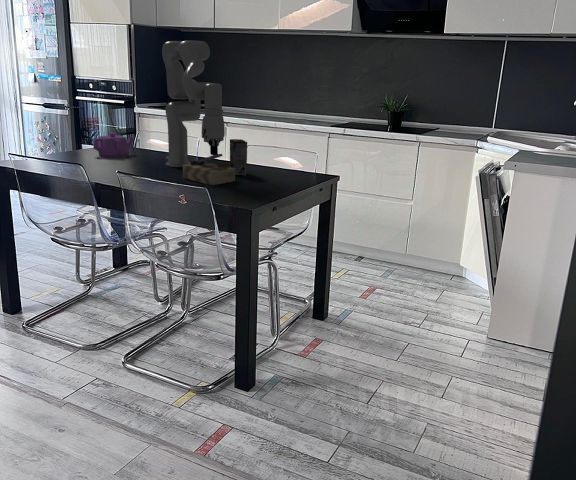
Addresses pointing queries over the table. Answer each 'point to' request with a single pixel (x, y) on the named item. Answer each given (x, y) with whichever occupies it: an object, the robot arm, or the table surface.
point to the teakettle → (112, 146)
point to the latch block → (209, 173)
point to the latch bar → (208, 158)
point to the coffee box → (238, 156)
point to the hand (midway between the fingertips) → (214, 154)
